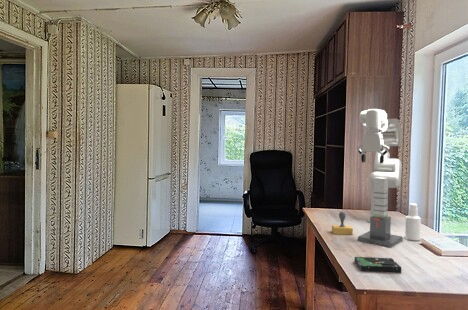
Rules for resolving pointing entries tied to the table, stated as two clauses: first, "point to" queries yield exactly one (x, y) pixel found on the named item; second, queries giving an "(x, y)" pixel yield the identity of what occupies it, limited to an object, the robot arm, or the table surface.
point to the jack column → (380, 197)
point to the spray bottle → (413, 223)
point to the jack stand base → (380, 233)
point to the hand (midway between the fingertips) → (372, 162)
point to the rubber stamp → (342, 226)
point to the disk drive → (377, 264)
